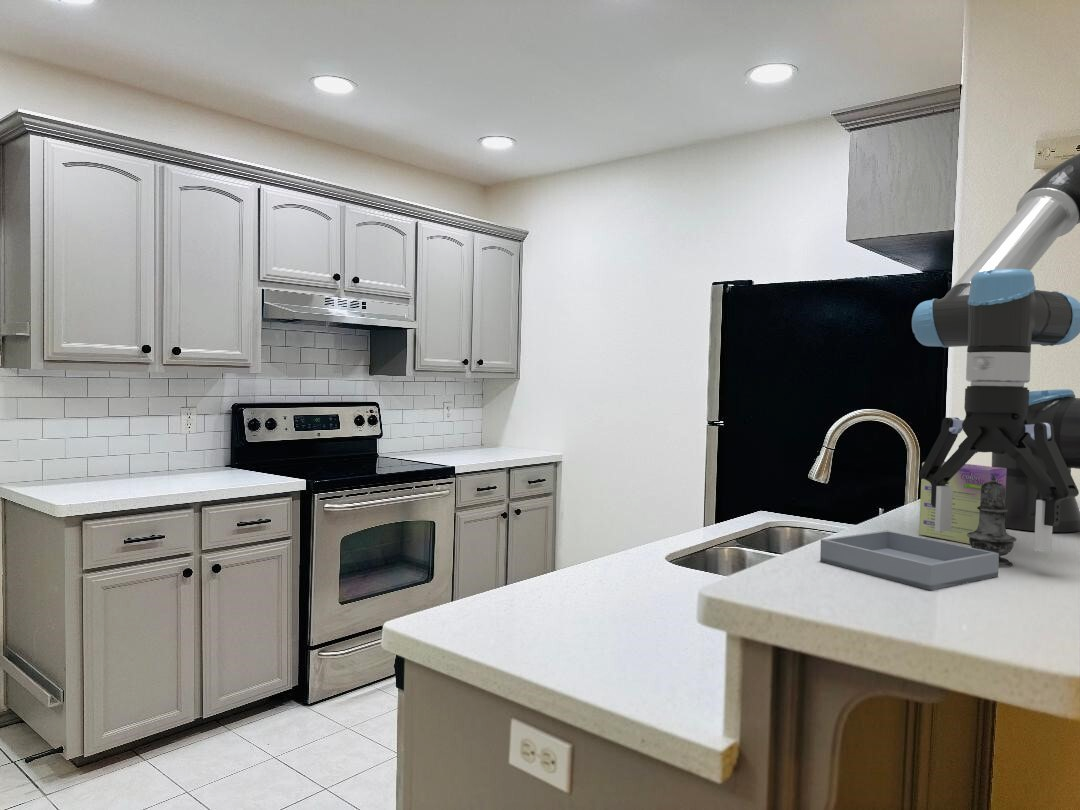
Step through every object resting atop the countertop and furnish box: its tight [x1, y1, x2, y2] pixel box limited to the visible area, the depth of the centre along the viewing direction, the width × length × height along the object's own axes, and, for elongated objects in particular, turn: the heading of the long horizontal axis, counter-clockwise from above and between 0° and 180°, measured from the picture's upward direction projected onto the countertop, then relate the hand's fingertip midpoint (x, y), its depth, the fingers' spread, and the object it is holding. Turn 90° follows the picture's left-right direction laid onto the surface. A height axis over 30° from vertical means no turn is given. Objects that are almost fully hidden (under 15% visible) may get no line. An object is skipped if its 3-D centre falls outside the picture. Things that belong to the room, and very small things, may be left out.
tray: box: [819, 530, 1000, 591], centre depth 102 cm, size 14×16×3 cm
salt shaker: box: [967, 475, 1017, 568], centre depth 106 cm, size 6×6×12 cm
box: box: [918, 461, 1007, 545], centre depth 121 cm, size 10×6×12 cm, turn 34°
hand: (989, 540), depth 106 cm, fingers open, 13 cm apart
